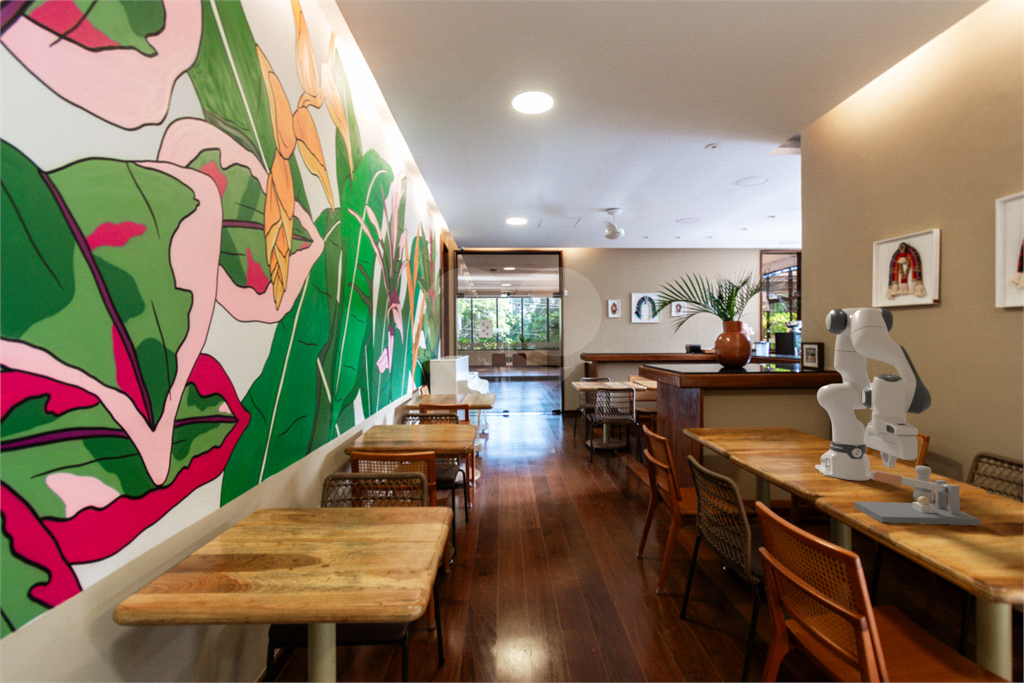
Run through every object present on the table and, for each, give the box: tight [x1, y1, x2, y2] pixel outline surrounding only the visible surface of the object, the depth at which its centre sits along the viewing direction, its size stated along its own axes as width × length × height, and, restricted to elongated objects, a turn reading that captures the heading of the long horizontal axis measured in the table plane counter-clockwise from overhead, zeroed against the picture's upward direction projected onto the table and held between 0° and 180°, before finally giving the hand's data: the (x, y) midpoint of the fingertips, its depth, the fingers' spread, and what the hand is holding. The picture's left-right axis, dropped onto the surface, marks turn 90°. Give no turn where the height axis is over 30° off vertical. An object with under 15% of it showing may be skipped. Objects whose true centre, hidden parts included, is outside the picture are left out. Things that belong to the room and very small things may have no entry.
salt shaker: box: [912, 465, 935, 504], centre depth 166 cm, size 6×6×13 cm
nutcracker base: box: [853, 479, 981, 527], centre depth 154 cm, size 28×14×11 cm, turn 84°
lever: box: [865, 468, 949, 495], centre depth 154 cm, size 26×4×4 cm, turn 84°
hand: (888, 466), depth 155 cm, fingers closed
